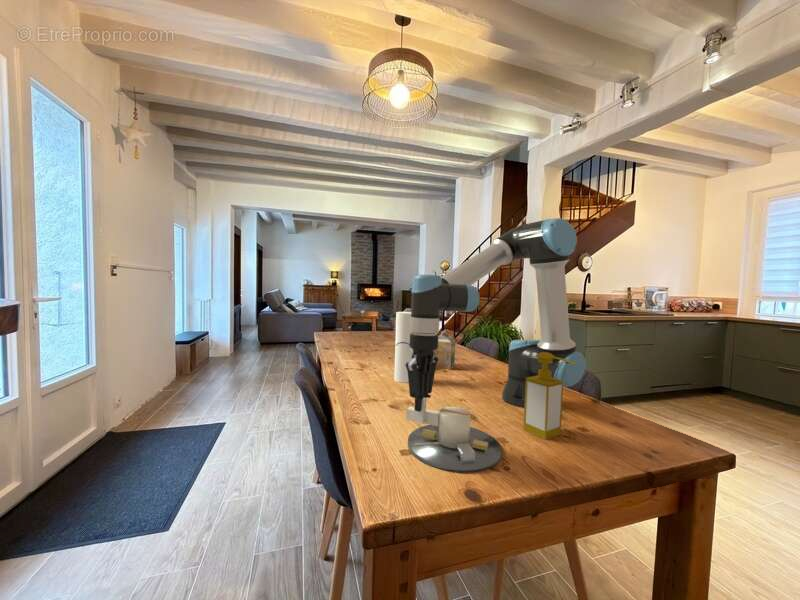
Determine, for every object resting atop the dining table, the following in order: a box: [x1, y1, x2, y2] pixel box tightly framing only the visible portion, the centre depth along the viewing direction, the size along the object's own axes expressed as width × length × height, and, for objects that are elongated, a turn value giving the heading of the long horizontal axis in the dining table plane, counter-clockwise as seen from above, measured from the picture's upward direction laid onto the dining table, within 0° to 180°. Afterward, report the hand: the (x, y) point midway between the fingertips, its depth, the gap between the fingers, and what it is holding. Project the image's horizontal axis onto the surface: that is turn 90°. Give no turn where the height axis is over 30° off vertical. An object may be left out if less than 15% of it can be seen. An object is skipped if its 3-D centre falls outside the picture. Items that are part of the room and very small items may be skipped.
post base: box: [407, 424, 503, 473], centre depth 85 cm, size 24×24×4 cm
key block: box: [405, 405, 488, 450], centre depth 86 cm, size 22×8×8 cm, turn 67°
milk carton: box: [433, 329, 456, 371], centre depth 172 cm, size 11×11×19 cm
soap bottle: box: [522, 352, 576, 441], centre depth 93 cm, size 7×13×24 cm, turn 32°
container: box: [393, 311, 413, 384], centre depth 145 cm, size 9×9×30 cm
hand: (419, 421), depth 87 cm, fingers closed
